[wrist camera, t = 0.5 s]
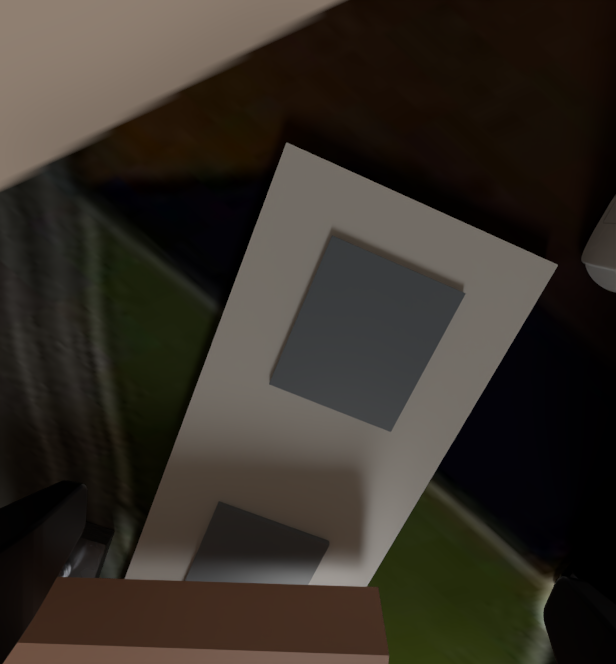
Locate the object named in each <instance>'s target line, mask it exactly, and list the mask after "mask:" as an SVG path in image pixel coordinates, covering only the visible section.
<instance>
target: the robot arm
mask: <svg viewBox="0 0 616 664" xmlns="http://www.w3.org/2000/svg"><path fill="white" fill-rule="evenodd" d="M86 511H87V487H86V485H84V484H83V483H77V482H72V481H61V482H58V483H56V484H54V485H52V486H49V487H47V488H45V489H43V490H40V491H38V492H36V493H34V494H31V495H29V496H27V497H25V498H23V499H20V500H18V501H16V502H14V503H11V504H9V505H7V506H5V507H2V508H0V664H3V663H4V661H5V660H6V658H7V657H8V655H9V654H10V653H11V651H12V650H13V648H14V647H15V645H16V644H17V642H18V641H19V640H20V638H21V637H22V635H23V634H24V632H25V631H26V629H27V628H28V626H29V625H30V623H31V622H32V620H33V618H34V617H35V615H36V613H37V612H38V610H39V608H40V607H41V605H42V603H43V601H44V600H45V598H46V596H47V594H48V593H49V591H50V589H51V587H52V586H53V584H54V582H55V580H56V578H57V577H58V575H59V573H60V571H61V570H62V568H63V566H64V564H65V562H66V561H67V559H68V557H69V555H70V554H71V552H72V550H73V548H74V547H75V545H76V543H77V541H78V539H79V538H80V536H81V534H82V532H83V530H84V527H85V523H86ZM544 623H545V626H546V630H547V633H548V636H549V639H550V642H551V646H552V649H553V652H554V655H555V658H556V662H557V664H616V505H615V506H614V508H613V509H612V510H611V512H610V513H609V514H608V516H607V517H606V518H605V519H604V521H603V522H602V523H601V525H600V526H599V527H598V529H597V530H596V531H595V533H594V534H593V535H592V536H591V538H590V539H589V540H588V542H587V543H586V544H585V546H584V547H583V548H582V549H581V551H580V552H579V553H578V555H577V556H576V557H575V559H574V560H573V561H572V563H571V564H570V565H569V566H568V568H567V569H566V570H565V572H564V573H563V574H562V576H561V577H560V578H558V579H557V581H556V583H555V585H554V587H553V589H552V591H551V594H550V596H549V598H548V600H547V602H546V605H545V607H544Z"/></svg>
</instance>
